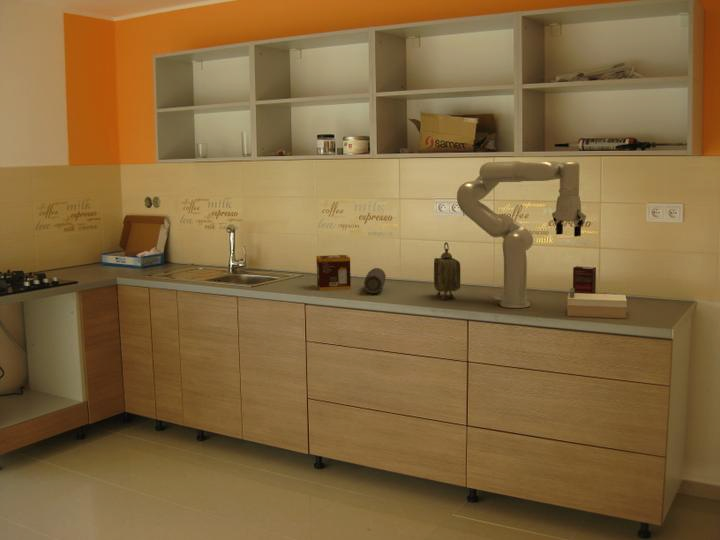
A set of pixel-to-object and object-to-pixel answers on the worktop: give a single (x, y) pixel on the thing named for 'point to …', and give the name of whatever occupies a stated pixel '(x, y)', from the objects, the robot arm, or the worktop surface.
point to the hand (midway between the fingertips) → (568, 235)
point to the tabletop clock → (446, 273)
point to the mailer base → (596, 311)
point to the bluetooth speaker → (374, 280)
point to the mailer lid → (596, 299)
